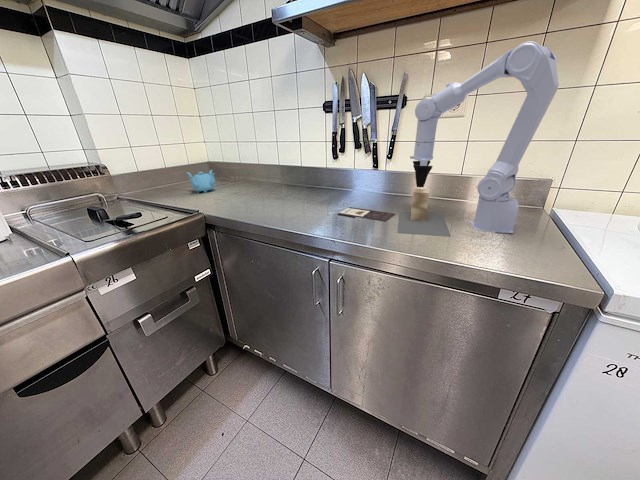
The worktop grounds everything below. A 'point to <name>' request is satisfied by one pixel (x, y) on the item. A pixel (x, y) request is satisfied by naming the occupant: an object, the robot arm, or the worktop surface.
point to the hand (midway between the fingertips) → (419, 184)
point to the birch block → (419, 204)
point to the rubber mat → (423, 225)
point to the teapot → (202, 181)
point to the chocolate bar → (366, 214)
